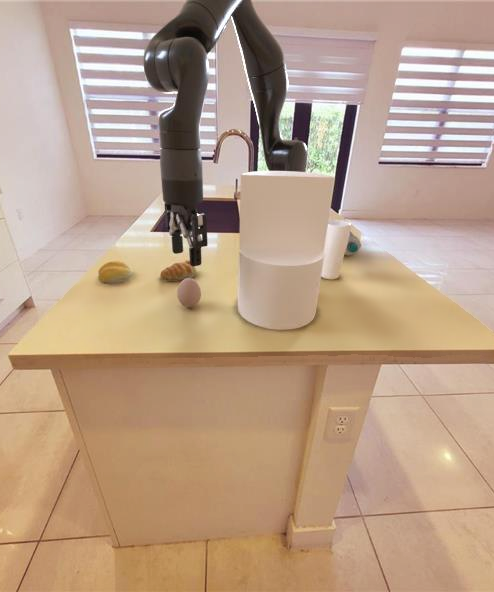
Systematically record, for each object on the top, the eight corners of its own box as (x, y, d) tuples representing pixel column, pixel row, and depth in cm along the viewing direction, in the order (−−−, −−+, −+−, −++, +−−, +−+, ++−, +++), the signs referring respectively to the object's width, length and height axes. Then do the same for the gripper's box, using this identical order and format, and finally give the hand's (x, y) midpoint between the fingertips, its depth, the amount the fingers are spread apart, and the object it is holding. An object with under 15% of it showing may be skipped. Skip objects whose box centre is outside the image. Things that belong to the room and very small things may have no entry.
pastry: (167, 285, 79) (166, 271, 78) (156, 277, 84) (154, 263, 82) (199, 276, 85) (198, 263, 83) (186, 269, 89) (185, 256, 88)
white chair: (239, 289, 78) (242, 169, 65) (308, 292, 78) (325, 172, 65) (236, 328, 63) (239, 181, 50) (322, 331, 63) (348, 184, 50)
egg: (185, 299, 73) (183, 272, 70) (205, 303, 72) (204, 276, 69) (173, 309, 69) (171, 281, 66) (194, 314, 67) (193, 285, 64)
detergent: (313, 235, 120) (328, 257, 98) (317, 217, 117) (334, 235, 95) (346, 239, 121) (369, 262, 99) (351, 221, 118) (376, 240, 95)
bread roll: (99, 287, 78) (95, 272, 76) (99, 273, 85) (97, 259, 83) (133, 283, 80) (131, 268, 78) (131, 269, 88) (129, 256, 86)
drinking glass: (345, 276, 87) (356, 222, 80) (333, 283, 83) (343, 227, 76) (324, 269, 91) (332, 218, 84) (311, 276, 87) (319, 222, 80)
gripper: (219, 179, 54) (219, 266, 62) (184, 171, 65) (187, 246, 72) (179, 182, 51) (184, 274, 58) (148, 172, 61) (156, 251, 68)
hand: (186, 258), depth 65 cm, fingers open, 8 cm apart
